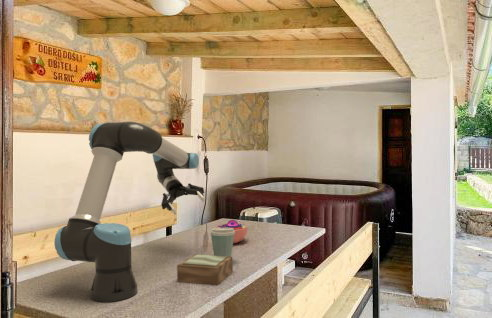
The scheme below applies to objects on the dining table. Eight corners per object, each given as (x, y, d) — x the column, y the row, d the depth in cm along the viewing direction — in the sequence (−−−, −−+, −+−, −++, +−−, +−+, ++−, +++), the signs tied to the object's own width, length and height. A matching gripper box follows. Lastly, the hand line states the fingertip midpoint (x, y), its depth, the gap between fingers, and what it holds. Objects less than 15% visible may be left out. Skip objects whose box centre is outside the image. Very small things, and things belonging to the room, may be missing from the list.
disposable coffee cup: (207, 261, 175) (207, 226, 174) (231, 258, 179) (230, 224, 178) (214, 267, 165) (213, 231, 164) (239, 264, 169) (238, 228, 168)
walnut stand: (218, 284, 144) (217, 267, 143) (177, 281, 148) (177, 264, 148) (232, 271, 159) (232, 255, 159) (195, 269, 164) (195, 253, 163)
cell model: (210, 246, 202) (209, 224, 202) (222, 237, 221) (221, 217, 221) (242, 247, 198) (242, 224, 198) (251, 238, 217) (251, 218, 217)
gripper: (199, 183, 197) (216, 202, 180) (150, 203, 188) (164, 224, 171) (195, 170, 194) (213, 187, 177) (146, 189, 185) (160, 209, 168)
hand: (189, 205), depth 174 cm, fingers open, 13 cm apart
